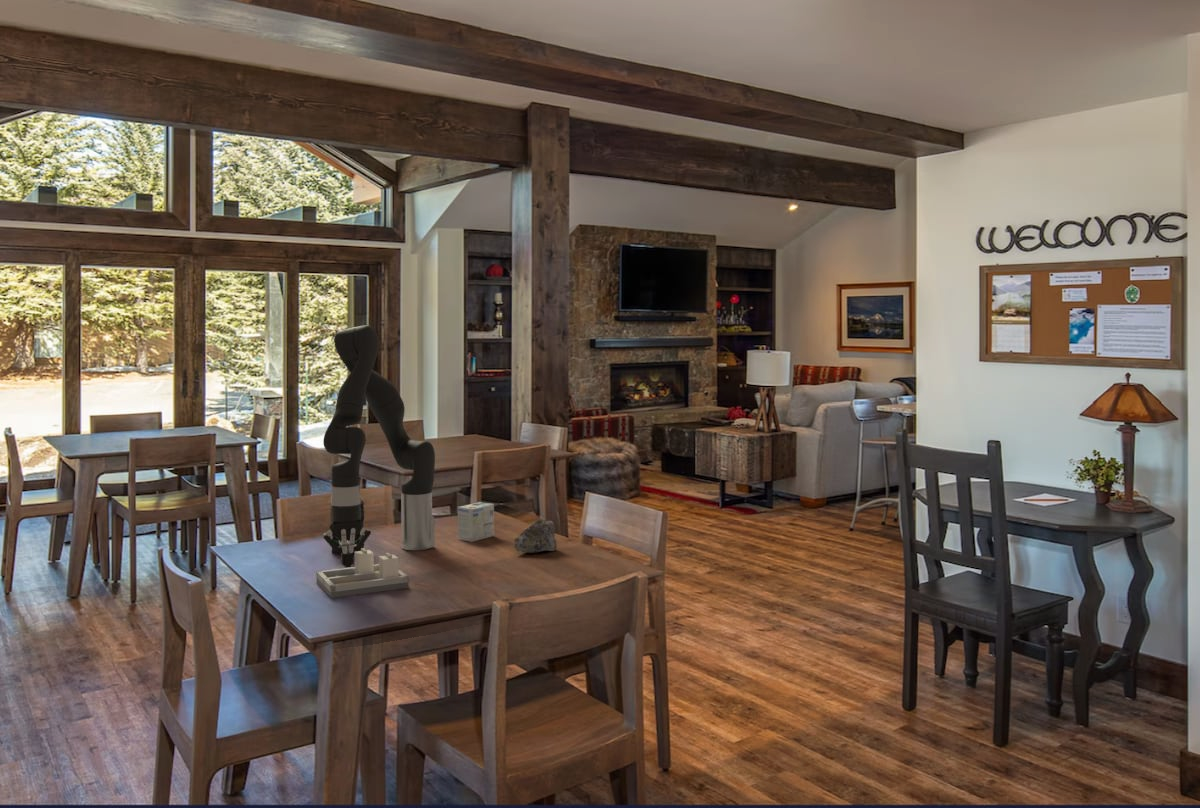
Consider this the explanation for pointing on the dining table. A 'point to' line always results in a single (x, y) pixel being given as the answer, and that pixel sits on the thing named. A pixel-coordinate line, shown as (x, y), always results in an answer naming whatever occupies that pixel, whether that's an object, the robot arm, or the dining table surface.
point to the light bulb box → (475, 521)
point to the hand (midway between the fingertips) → (347, 566)
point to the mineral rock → (537, 538)
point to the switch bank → (357, 582)
